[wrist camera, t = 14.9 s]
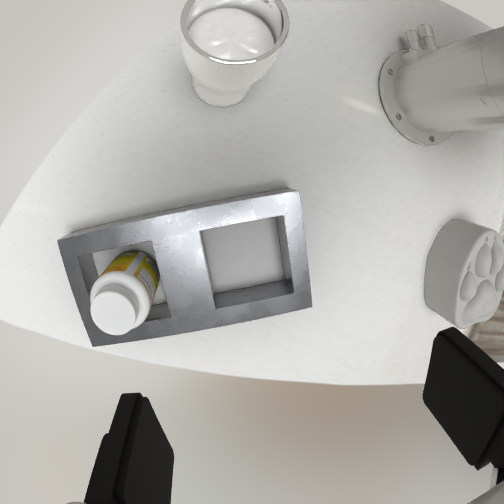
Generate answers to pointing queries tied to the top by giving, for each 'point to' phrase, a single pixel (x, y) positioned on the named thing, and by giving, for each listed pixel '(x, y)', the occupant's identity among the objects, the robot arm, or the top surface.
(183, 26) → the beer glass
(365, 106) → the top surface
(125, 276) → the supplement bottle
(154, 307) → the cinder block
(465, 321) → the lumpy-topped squat cylinder
